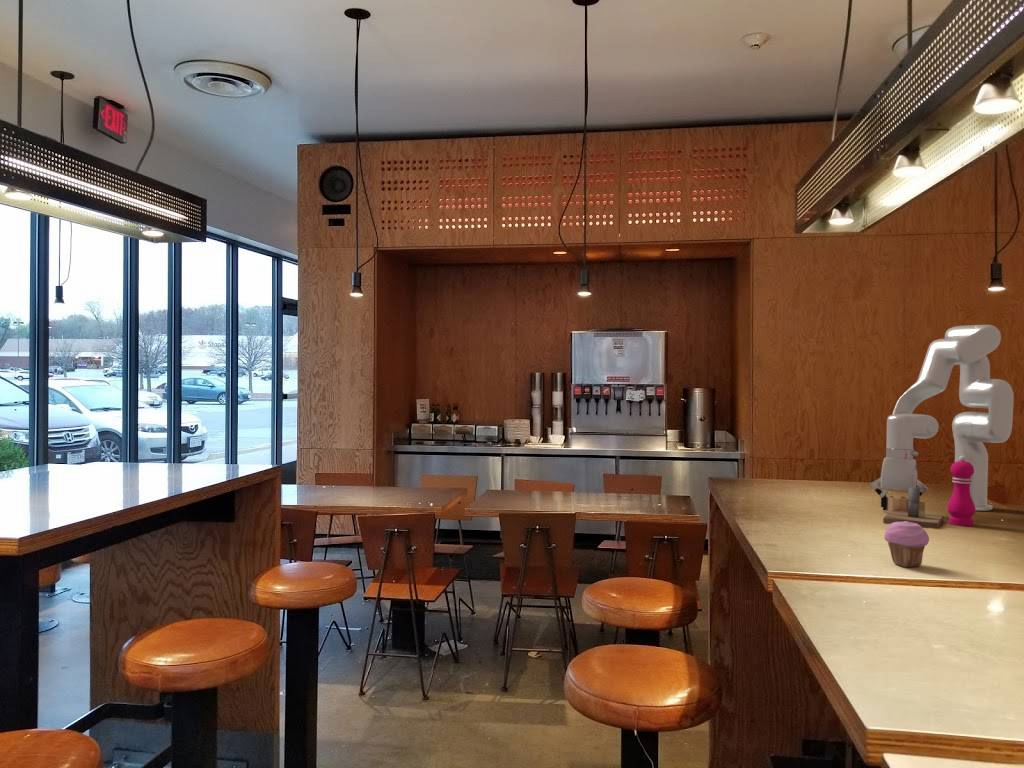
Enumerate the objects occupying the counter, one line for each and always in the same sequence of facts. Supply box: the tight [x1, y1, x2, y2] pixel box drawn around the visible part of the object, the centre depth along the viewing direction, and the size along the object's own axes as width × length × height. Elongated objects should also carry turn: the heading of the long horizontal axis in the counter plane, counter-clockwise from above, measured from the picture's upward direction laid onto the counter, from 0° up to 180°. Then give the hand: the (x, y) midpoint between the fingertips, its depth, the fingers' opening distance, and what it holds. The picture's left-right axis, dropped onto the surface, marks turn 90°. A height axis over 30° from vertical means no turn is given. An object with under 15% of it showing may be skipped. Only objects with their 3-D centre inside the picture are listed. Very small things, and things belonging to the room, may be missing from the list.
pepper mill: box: [946, 456, 977, 527], centre depth 237 cm, size 7×7×20 cm
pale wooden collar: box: [884, 495, 908, 514], centre depth 254 cm, size 7×7×5 cm
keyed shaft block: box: [882, 486, 944, 529], centre depth 240 cm, size 16×14×10 cm
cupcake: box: [884, 521, 930, 568], centre depth 183 cm, size 9×9×10 cm
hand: (898, 510), depth 255 cm, fingers closed on pale wooden collar, 7 cm apart
